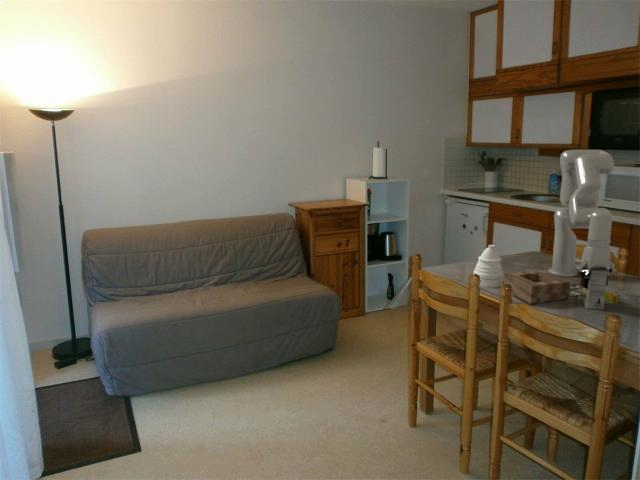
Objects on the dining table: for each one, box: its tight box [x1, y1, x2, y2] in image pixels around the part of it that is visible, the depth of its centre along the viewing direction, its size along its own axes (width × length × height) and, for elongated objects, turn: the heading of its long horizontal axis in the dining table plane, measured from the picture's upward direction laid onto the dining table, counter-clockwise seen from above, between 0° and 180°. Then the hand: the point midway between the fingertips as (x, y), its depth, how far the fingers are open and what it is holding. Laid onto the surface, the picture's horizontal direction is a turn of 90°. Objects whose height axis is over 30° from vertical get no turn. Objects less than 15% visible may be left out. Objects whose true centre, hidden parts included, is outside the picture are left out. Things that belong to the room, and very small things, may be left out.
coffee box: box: [580, 267, 608, 310], centre depth 202 cm, size 9×6×16 cm
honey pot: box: [473, 244, 504, 288], centre depth 232 cm, size 13×13×18 cm
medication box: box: [604, 289, 621, 305], centre depth 210 cm, size 12×3×4 cm, turn 16°
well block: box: [503, 269, 571, 306], centre depth 214 cm, size 18×18×8 cm
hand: (593, 286), depth 202 cm, fingers closed on coffee box, 8 cm apart
